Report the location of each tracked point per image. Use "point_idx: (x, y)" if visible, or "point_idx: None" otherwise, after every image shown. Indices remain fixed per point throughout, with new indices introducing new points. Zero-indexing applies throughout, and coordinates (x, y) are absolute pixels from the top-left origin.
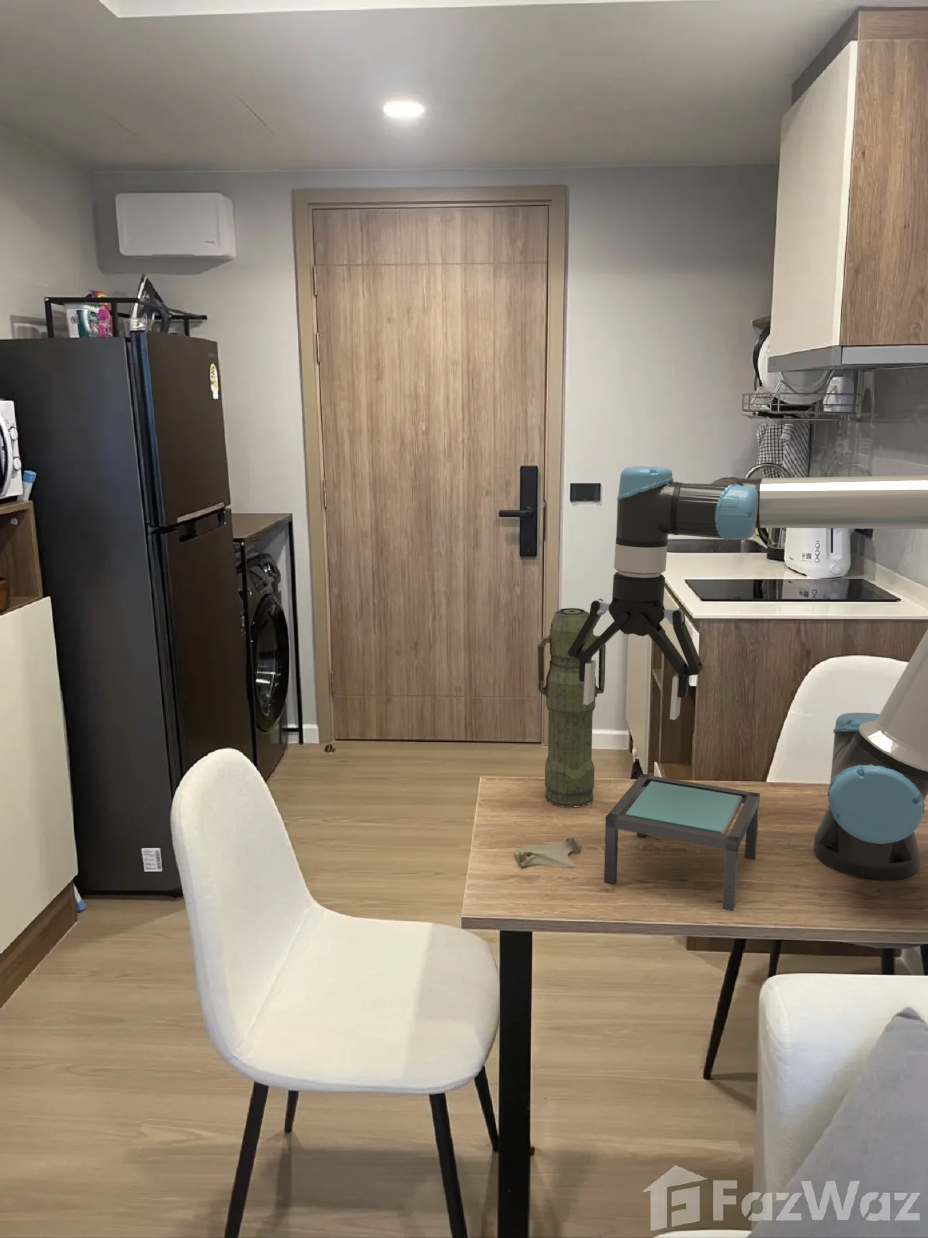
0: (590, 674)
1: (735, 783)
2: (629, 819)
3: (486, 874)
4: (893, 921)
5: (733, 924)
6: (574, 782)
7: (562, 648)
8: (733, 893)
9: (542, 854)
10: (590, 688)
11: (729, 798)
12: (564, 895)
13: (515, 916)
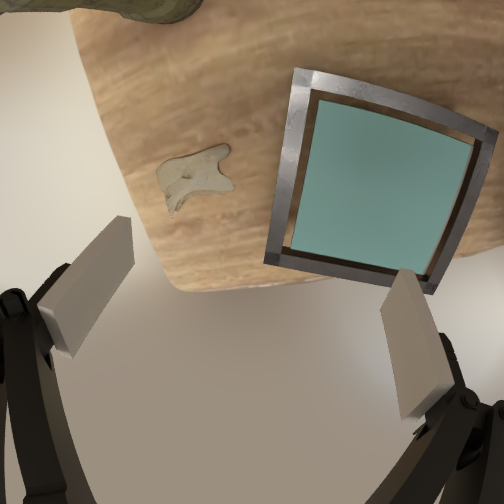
0: (88, 321)
1: None
2: (298, 264)
3: (152, 228)
4: None
5: None
6: (169, 14)
7: None
8: None
9: (190, 192)
10: (111, 280)
11: (455, 159)
12: (239, 249)
13: (208, 289)
